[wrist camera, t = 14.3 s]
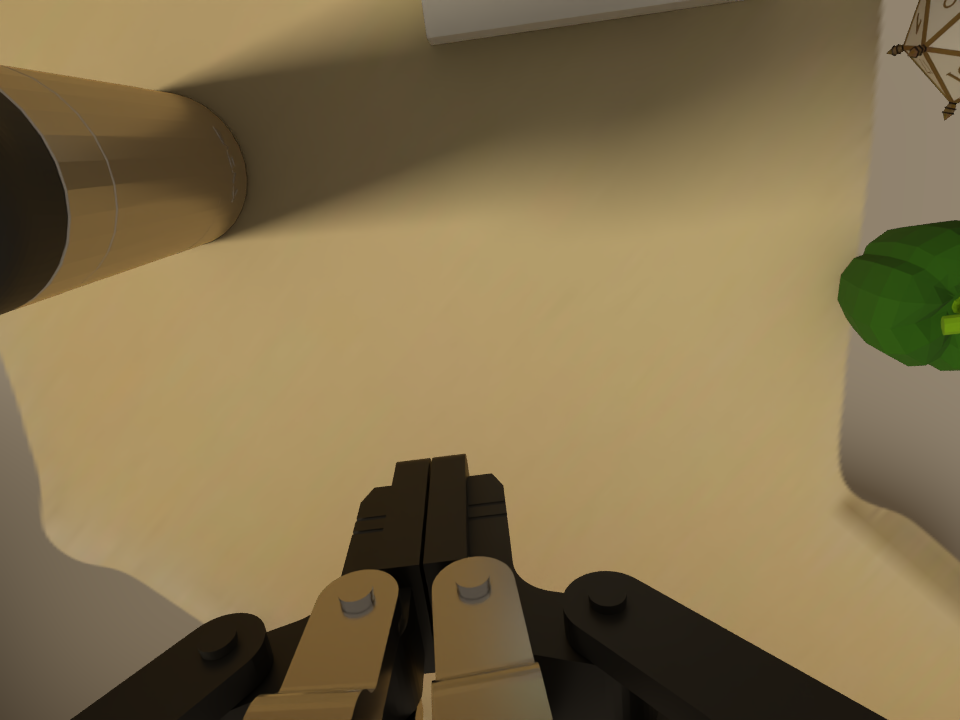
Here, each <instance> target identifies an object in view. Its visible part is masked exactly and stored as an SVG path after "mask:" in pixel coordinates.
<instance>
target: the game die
mask: <svg viewBox="0 0 960 720" xmlns="http://www.w3.org/2000/svg"><path fill="white" fill-rule="evenodd" d="M903 51H905V52H906V53H907V54H908V56H909V57H910V58H911V59H912V60H913V61H914V62H915V64H916V65H917V66H918V67H919V68H920V69H921V70H922V71H923V72H924V74H925V75H926V76H927V77H928V78H929V79H930V80H931V82H932V83H933V84H934V85H935V86H936V87H937V88H938V90H939V91H940V92H941V93H942V94H943V95H944V96H945V98H946V99H947V100H948V101H949V104H948V105H947V106H946V107H945V110H944V111H943V112H942V113H943V115H944V120H946V119H947V118H948V117H950V116H951V115H953V114H954V111H955V110H956V109H955V107H956V104H957V103H959V102H960V0H919V2H918V5H917V8H916V11H915V13H914V16H913V19H912V22H911V25H910V28H909V31H908V33H907V36H906V39H905V42H904V44H903V45H899V44H898V45H897V46H893V47H892V49H891V50H890V51H888V53H887V54H892V55H893V56H896V54H901V52H903Z"/></svg>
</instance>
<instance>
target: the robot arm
mask: <svg viewBox="0 0 960 720" xmlns="http://www.w3.org/2000/svg"><path fill="white" fill-rule="evenodd" d="M246 188H247V176H246V168H245V162H244V159H243V156H242V154H241V151H240V148H239V146H238V144H237V142H236V140H235V139H234V137H233V135H232V133H231V132H230V130H229V129H228V128H227V127H226V126H225V124H224V123H223V122H222V121H221V120H220V118H219V117H217V116H216V115H215V114H214V113H212V112H211V111H210V110H209V109H208V108H206V107H205V106H203V105H201V104H199V103H198V102H196V101H194V100H192V99H190V98H187V97H184V96H180V95H177V94H174V93H167V92H161V91H155V90H149V89H143V88H139V87H133V86H126V85H120V84H114V83H108V82H102V81H96V80H90V79H83V78H77V77H71V76H65V75H59V74H53V73H46V72H40V71H34V70H28V69H22V68H16V67H10V66H3V65H0V315H1V314H4V313H6V312H9V311H12V310H15V309H18V308H21V307H24V306H27V305H30V304H33V303H36V302H38V301H41V300H44V299H47V298H50V297H53V296H56V295H59V294H62V293H64V292H66V291H69V290H72V289H75V288H78V287H81V286H84V285H87V284H90V283H92V282H95V281H98V280H101V279H104V278H107V277H110V276H113V275H116V274H119V273H122V272H124V271H127V270H130V269H133V268H136V267H139V266H142V265H145V264H148V263H151V262H154V261H156V260H159V259H162V258H165V257H168V256H171V255H174V254H178V253H180V252H183V251H186V250H189V249H192V248H194V247H197V246H200V245H203V244H205V243H208V242H211V241H214V240H215V239H217V238H218V237H220V236H221V235H223V234H224V233H225V232H226V231H227V230H228V229H229V228H230V227H231V226H232V225H233V224H234V223H235V221H236V219H237V218H238V216H239V214H240V212H241V210H242V208H243V204H244V201H245V197H246ZM426 673H435V674H436V680H434V681H432V684H431V700H432V720H887V719H885V718H884V717H882V716H880V715H878V714H877V713H875V712H873V711H871V710H869V709H868V708H866V707H864V706H862V705H860V704H859V703H857V702H855V701H853V700H852V699H850V698H848V697H846V696H844V695H843V694H841V693H839V692H837V691H835V690H834V689H832V688H830V687H828V686H827V685H825V684H823V683H821V682H819V681H818V680H816V679H814V678H812V677H810V676H809V675H807V674H805V673H803V672H802V671H800V670H798V669H796V668H794V667H793V666H791V665H789V664H787V663H785V662H784V661H782V660H780V659H778V658H777V657H775V656H773V655H771V654H769V653H768V652H766V651H764V650H762V649H760V648H759V647H757V646H755V645H753V644H752V643H750V642H748V641H746V640H744V639H743V638H741V637H739V636H737V635H735V634H734V633H732V632H730V631H728V630H727V629H725V628H723V627H721V626H719V625H718V624H716V623H714V622H712V621H710V620H709V619H707V618H705V617H703V616H701V615H700V614H698V613H696V612H694V611H693V610H691V609H689V608H687V607H685V606H684V605H682V604H680V603H678V602H676V601H675V600H673V599H671V598H669V597H668V596H666V595H664V594H662V593H660V592H659V591H657V590H655V589H653V588H651V587H650V586H648V585H646V584H644V583H643V582H641V581H639V580H637V579H635V578H633V577H631V576H629V575H626V574H623V573H619V572H612V571H599V572H592V573H589V574H585V575H583V576H581V577H579V578H577V579H576V580H574V581H573V582H572V583H571V584H570V585H569V586H568V587H567V589H566V590H565V592H564V593H560V592H553V591H547V590H543V589H539V588H536V587H534V586H532V585H530V584H528V583H527V582H525V581H524V580H523V579H522V578H521V577H520V576H519V575H518V574H517V573H516V571H515V569H514V566H513V561H512V553H511V544H510V536H509V528H508V520H507V512H506V504H505V496H504V488H503V485H502V484H501V483H500V482H499V480H498V479H497V478H496V477H495V476H494V475H493V474H483V475H475V476H469V470H468V464H467V458H466V454H459V455H451V456H443V457H434V458H432V461H431V459H430V458H427V459H419V460H411V461H402V462H397V463H396V467H395V472H394V477H393V482H392V486H385V487H377V488H374V489H373V490H372V491H371V492H370V493H369V494H368V495H367V497H366V498H365V499H364V500H363V501H362V502H361V504H360V508H359V512H358V516H357V522H356V523H355V527H354V530H353V535H352V538H351V542H350V545H349V549H348V553H347V556H346V560H345V564H344V568H343V571H342V575H341V577H339V578H338V579H336V580H334V581H333V582H331V583H330V584H329V585H328V586H327V587H326V588H325V589H324V590H323V591H322V592H321V593H320V595H319V596H318V598H317V600H316V603H315V605H314V608H313V610H312V613H311V615H309V616H307V617H306V618H304V619H301V620H299V621H296V622H294V623H291V624H288V625H285V626H283V627H280V628H277V629H274V630H271V631H269V632H266V629H265V626H264V623H263V622H262V620H261V619H260V618H258V617H257V616H255V615H252V614H248V613H233V614H228V615H224V616H221V617H218V618H216V619H213V620H211V621H209V622H207V623H205V624H203V625H202V626H200V627H199V628H197V629H196V630H194V631H193V632H191V633H190V634H189V635H187V636H186V637H185V638H183V639H182V640H180V641H179V642H178V643H176V644H175V645H173V646H172V647H171V648H169V649H168V650H166V651H165V652H164V653H163V654H161V655H160V656H158V657H157V658H155V659H154V660H153V661H151V662H150V663H148V664H147V665H146V666H144V667H143V668H142V669H140V670H139V671H137V672H136V673H135V674H133V675H132V676H130V677H129V678H128V679H126V680H125V681H123V682H122V683H121V684H119V685H118V686H117V687H115V688H114V689H112V690H111V691H110V692H108V693H107V694H106V695H104V696H103V697H101V698H100V699H98V700H97V701H96V702H94V703H93V704H92V705H90V706H89V707H88V708H86V709H85V710H83V711H82V712H80V713H79V714H78V715H76V716H75V717H74V718H72V719H71V720H423V713H424V711H423V705H422V700H421V697H422V691H423V676H424V674H426Z"/></svg>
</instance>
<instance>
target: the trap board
mask: <svg viewBox="0 0 960 720" xmlns="http://www.w3.org/2000/svg"><path fill="white" fill-rule="evenodd" d="M735 1H742V0H422V6H423V14H424V21H425V28H426V35H427V39H428V41H429V43H430V44H431V45H438V44H445V43H452V42H458V41H465V40H472V39H479V38H486V37H493V36H500V35H507V34H514V33H521V32H528V31H535V30H542V29H548V28H555V27H562V26H569V25H576V24H583V23H590V22H597V21H604V20H611V19H618V18H625V17H632V16H638V15H645V14H652V13H659V12H666V11H673V10H680V9H687V8H694V7H701V6H708V5H715V4H722V3H728V2H735Z"/></svg>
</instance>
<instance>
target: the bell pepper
mask: <svg viewBox="0 0 960 720" xmlns="http://www.w3.org/2000/svg"><path fill="white" fill-rule="evenodd" d="M838 302H839V304H840V306H841V308H842V310H843V313H844V315H845V317H846V318H847V320H848V321H849V323H850V324H851V326H852V327H853V328H854V330H855V331H856V332H857V333H858V334H859V335H860V336H861V338H862V339H863V340H864V341H865V342H866V343H867V344H869V345H871V346H873V347H874V348H876V349H878V350H880V351H882V352H883V353H885V354H887V355H889V356H890V357H892V358H894V359H896V360H898V361H899V362H901V363H903V364H905V365H907V366H922V365H927V364H929V365H931V366H933V367H935V368H937V369H938V370H940V371H948V370H949V371H951V370H952V371H954V370H960V221H957V220H954V221H946V222H938V223H930V224H923V225H917V226H909V227H902V228H897V229H891V230H887V231H886V232H884V233H883V234H882V235H880V236H879V237H878V238H876V239H875V240H873V241H872V242H871V243H869V244H868V245H867V246H866V248H865V251H864V254H863V255H862V256H859V257H856V258H854V259H853V260H852V261H851V263H850V264H849V265H848V267H847V268H846V269H845V270H844V272H843V273H842V274H841V278H840V285H839V293H838Z"/></svg>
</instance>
